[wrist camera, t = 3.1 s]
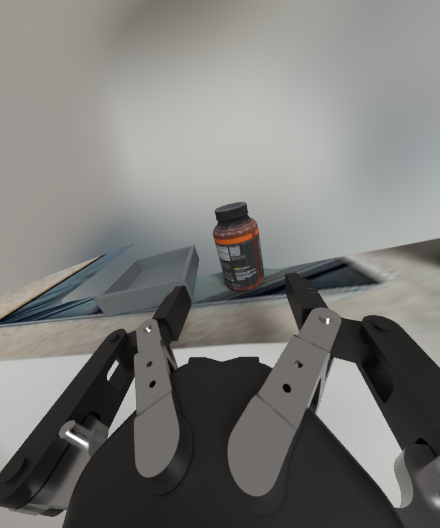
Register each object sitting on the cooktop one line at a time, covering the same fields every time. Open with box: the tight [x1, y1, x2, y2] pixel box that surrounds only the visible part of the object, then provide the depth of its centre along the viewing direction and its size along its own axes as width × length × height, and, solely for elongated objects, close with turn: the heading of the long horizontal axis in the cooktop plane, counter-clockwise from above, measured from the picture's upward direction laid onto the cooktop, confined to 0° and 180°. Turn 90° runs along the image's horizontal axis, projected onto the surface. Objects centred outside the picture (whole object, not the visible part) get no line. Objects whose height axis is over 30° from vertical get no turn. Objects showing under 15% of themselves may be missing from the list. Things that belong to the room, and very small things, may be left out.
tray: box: [94, 246, 199, 317], centre depth 29 cm, size 14×14×4 cm
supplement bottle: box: [213, 202, 264, 291], centre depth 22 cm, size 6×6×11 cm
